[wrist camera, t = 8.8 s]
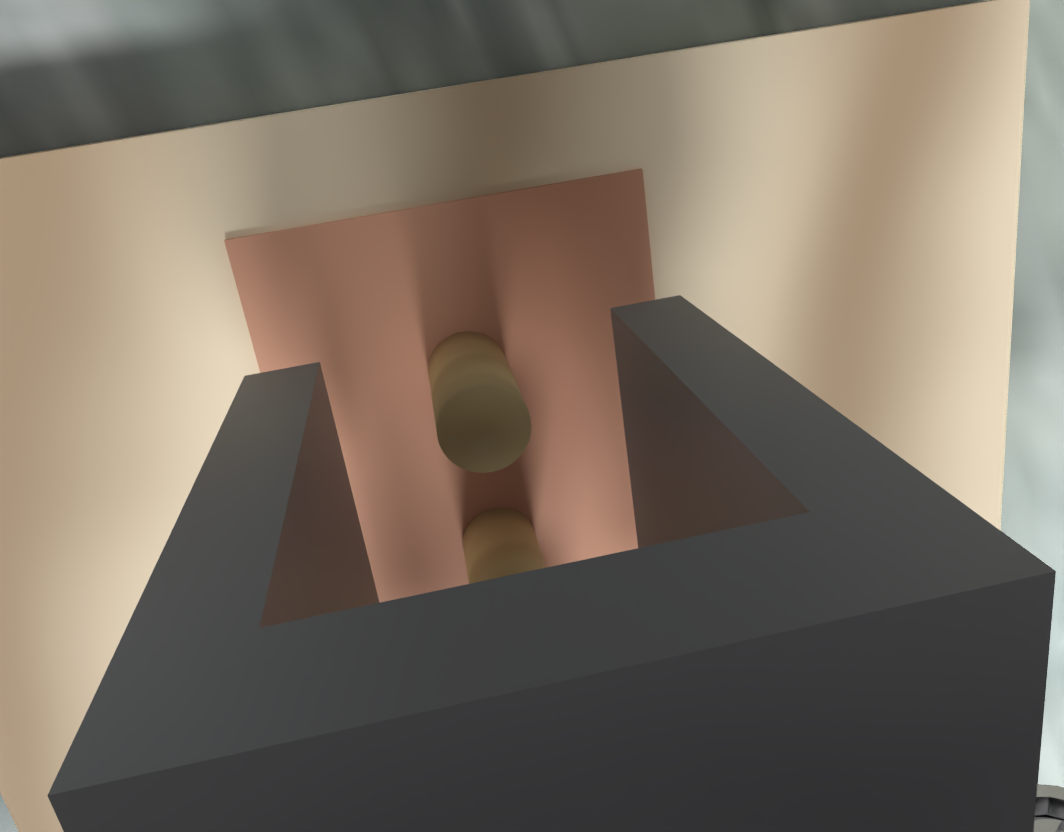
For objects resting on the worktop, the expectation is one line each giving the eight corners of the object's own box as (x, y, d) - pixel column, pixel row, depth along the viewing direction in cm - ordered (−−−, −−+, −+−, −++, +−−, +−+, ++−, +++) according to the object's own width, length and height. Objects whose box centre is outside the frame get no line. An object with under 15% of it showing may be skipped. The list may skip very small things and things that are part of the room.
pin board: (979, 1, 14) (1177, -25, 11) (953, 709, 19) (1080, 850, 16) (-222, 192, 13) (-458, 237, 9) (101, 908, 18) (29, 1113, 14)
